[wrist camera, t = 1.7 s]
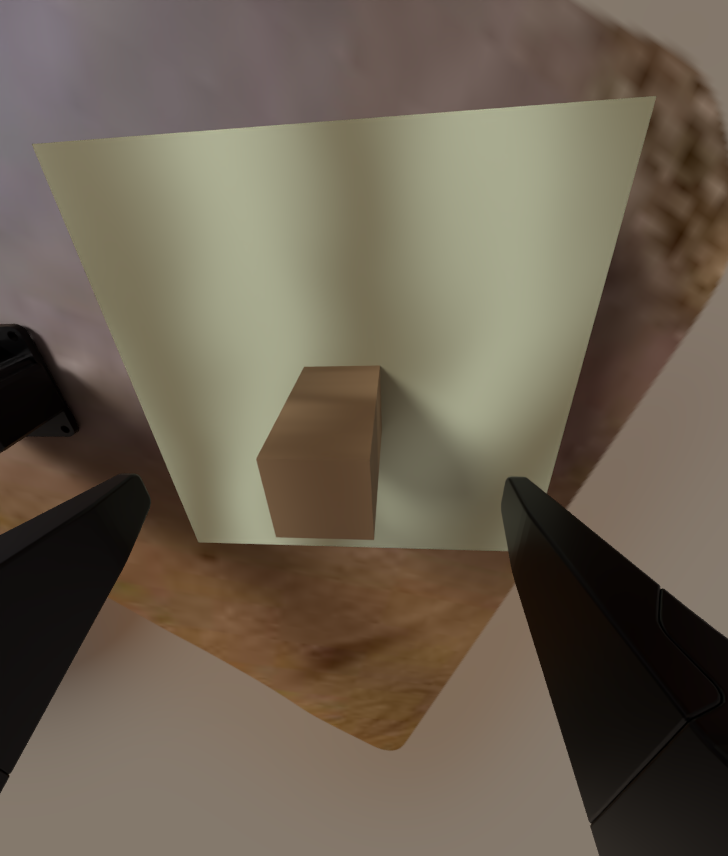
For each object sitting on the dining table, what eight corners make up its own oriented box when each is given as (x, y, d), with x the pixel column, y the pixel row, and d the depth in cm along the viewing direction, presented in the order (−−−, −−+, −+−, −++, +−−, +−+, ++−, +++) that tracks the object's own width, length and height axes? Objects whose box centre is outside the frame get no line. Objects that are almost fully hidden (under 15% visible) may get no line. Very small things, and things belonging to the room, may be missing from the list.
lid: (204, 532, 18) (136, 652, 14) (49, 146, 10) (-246, 114, 6) (526, 540, 17) (575, 678, 12) (641, 100, 9) (914, 9, 4)
